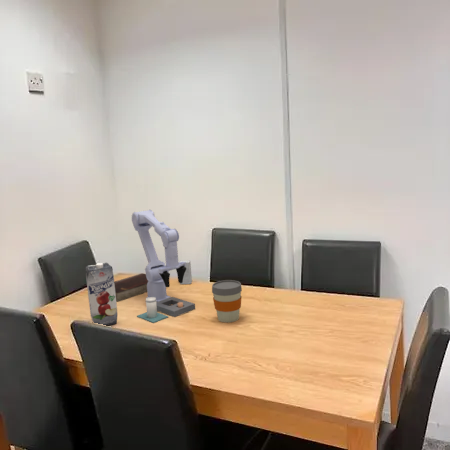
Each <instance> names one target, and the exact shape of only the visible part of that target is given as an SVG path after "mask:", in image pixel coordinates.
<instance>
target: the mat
mask: <svg viewBox="0 0 450 450" xmlns="http://www.w3.org/2000/svg"><path fill="white" fill-rule="evenodd" d="M136 317H137V318H139V319H142V320H144V321H146V322H149V323H152V324H155V323H158V322H160V321H163V320H166V319H168V318H169V315H167V314H164V313H161V312H157V317H155V318H148V317H147V311H146V312H143V313H140V314H138V315H136Z"/></svg>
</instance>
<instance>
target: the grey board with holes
mask: <svg viewBox="0 0 450 450" xmlns="http://www.w3.org/2000/svg"><path fill="white" fill-rule="evenodd" d="M178 302H183V307H181V308H179V307H178ZM156 305H157V312H158V313H161V314H164V315H167V316H170V317H171V316H172V318H173V317H174V318H176V317H178V316H181V315H183V314H185V313H189V312H191V311H194V310H196V303H193V302H191V301H187V300H184V299H181V298H177V297H174V296H170V298H167V299H165V300H162V301H159V302H156Z"/></svg>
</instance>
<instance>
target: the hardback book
mask: <svg viewBox="0 0 450 450" xmlns="http://www.w3.org/2000/svg"><path fill="white" fill-rule="evenodd" d="M147 283H148V280H147V278H146V273H138V274H136V275H135V274H134V275H133V276H128V277H125V278H123V279H119V280H116V281H115V280H114V284H115V294H116V303H119V302H121V301H125V300H127V299H130V298H134V297H136V296H139V295H142V294H145V293H147Z"/></svg>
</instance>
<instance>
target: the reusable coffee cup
mask: <svg viewBox="0 0 450 450" xmlns="http://www.w3.org/2000/svg"><path fill="white" fill-rule="evenodd" d="M211 285H212V286H211V293H212V295H213V296H212V297H213V298H212V300H213V305H214V309H215V312H216V314H217V320H218V321H219V322H221V323H233V322H236V321H238V320H239V319H240V310H241V307H242V297H243V296H242V295H241V294H242V289H243V288H242V283H241V282H240V281H239V280H234V279H233V280H232V279H225V280H219V281H218V280H217V281H216V282H214V283H212V284H211Z"/></svg>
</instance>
